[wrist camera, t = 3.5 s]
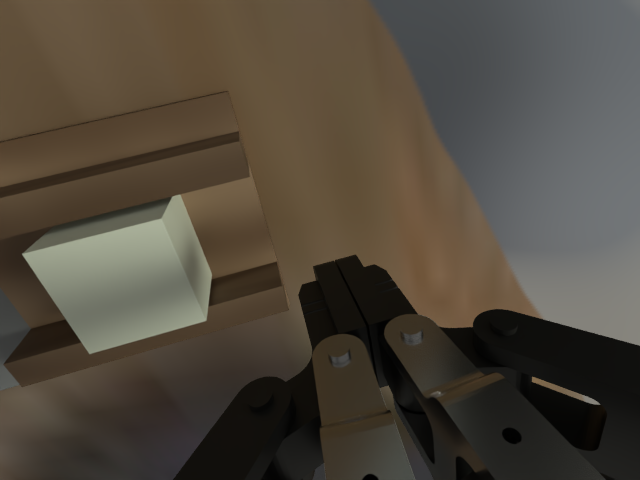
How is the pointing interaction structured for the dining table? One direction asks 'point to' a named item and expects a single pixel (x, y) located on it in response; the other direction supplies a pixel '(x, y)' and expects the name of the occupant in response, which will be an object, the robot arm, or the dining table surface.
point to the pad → (9, 337)
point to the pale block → (125, 273)
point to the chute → (126, 191)
